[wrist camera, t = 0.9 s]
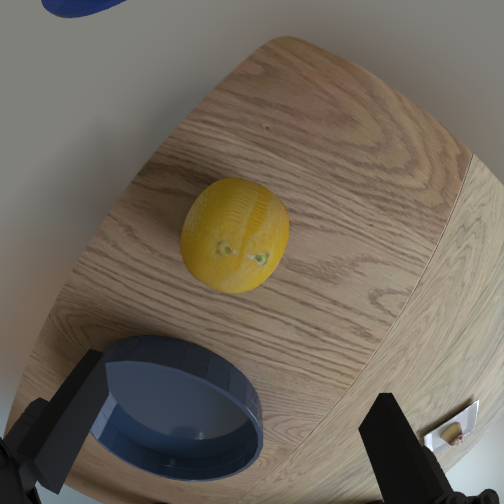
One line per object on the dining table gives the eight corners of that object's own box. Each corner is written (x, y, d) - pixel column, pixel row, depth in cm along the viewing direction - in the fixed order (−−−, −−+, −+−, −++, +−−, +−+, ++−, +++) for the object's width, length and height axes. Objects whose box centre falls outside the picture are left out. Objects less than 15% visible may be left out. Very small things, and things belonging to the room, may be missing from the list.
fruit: (269, 280, 28) (276, 320, 20) (186, 263, 27) (162, 297, 19) (290, 188, 25) (308, 194, 18) (202, 170, 25) (182, 168, 17)
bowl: (74, 401, 33) (60, 421, 28) (130, 295, 28) (111, 317, 23) (201, 471, 37) (198, 494, 32) (299, 399, 32) (305, 429, 27)
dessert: (472, 426, 37) (482, 440, 32) (424, 457, 38) (432, 473, 34) (476, 395, 34) (488, 411, 29) (421, 432, 36) (431, 450, 31)
